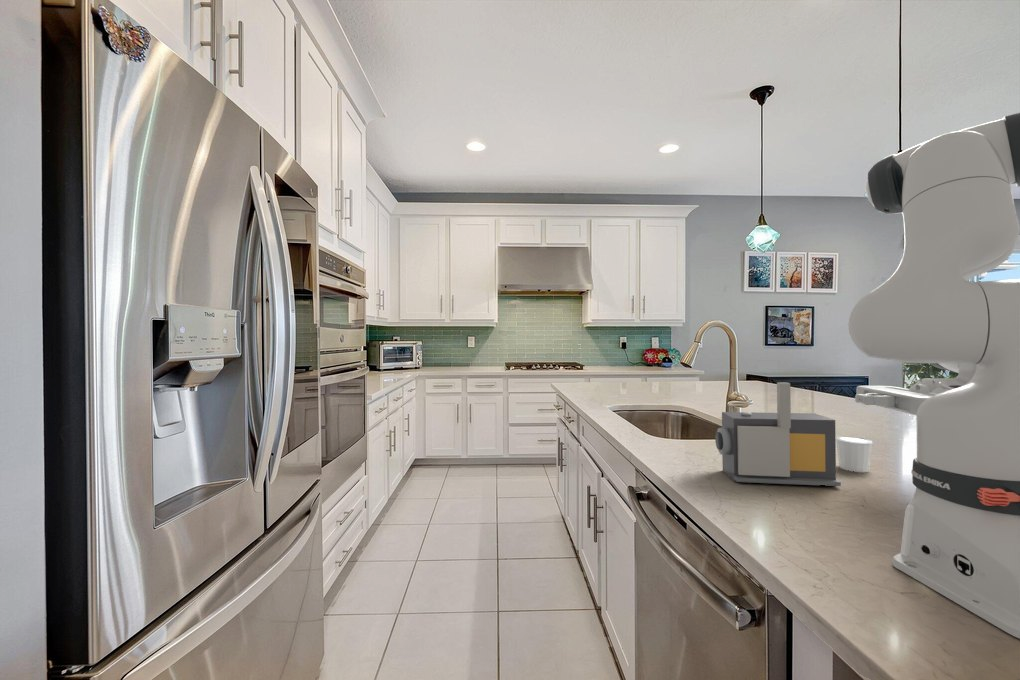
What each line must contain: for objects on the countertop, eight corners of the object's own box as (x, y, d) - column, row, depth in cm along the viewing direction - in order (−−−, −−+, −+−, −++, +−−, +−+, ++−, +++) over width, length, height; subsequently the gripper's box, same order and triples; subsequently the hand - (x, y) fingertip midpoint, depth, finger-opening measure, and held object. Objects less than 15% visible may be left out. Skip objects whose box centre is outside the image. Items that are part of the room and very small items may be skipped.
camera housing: (840, 489, 87) (840, 418, 87) (726, 484, 91) (725, 416, 91) (815, 473, 97) (814, 410, 97) (713, 470, 101) (712, 409, 101)
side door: (791, 477, 89) (790, 383, 89) (740, 475, 91) (739, 383, 90) (788, 475, 90) (787, 382, 90) (737, 473, 92) (736, 382, 92)
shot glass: (859, 464, 104) (859, 436, 103) (881, 473, 97) (880, 443, 97) (829, 464, 104) (829, 435, 104) (848, 473, 97) (848, 442, 97)
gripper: (898, 379, 95) (830, 379, 97) (983, 390, 75) (894, 390, 77) (899, 407, 95) (830, 406, 97) (983, 426, 75) (895, 424, 77)
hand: (859, 399), depth 87 cm, fingers closed
